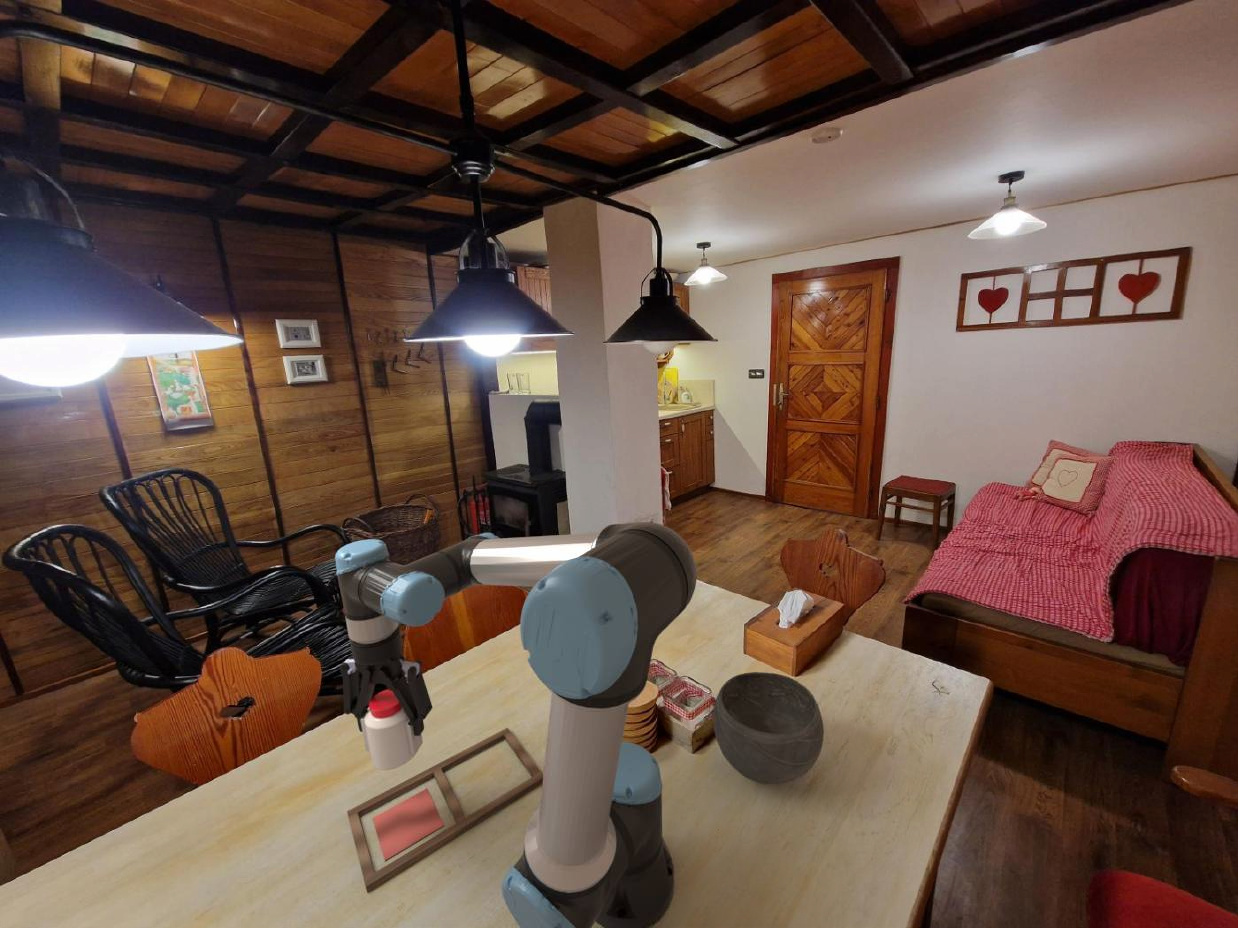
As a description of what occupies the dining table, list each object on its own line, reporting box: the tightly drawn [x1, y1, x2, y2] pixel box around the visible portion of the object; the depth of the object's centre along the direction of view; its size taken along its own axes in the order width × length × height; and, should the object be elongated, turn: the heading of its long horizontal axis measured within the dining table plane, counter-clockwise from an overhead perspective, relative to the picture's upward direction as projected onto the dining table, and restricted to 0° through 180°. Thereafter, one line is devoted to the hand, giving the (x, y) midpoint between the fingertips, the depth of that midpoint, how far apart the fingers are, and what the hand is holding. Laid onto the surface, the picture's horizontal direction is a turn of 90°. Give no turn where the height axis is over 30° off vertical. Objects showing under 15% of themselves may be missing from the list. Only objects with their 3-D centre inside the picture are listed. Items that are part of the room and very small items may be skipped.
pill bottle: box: [364, 688, 417, 771], centre depth 86 cm, size 8×8×11 cm
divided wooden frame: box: [347, 727, 544, 893], centre depth 95 cm, size 17×32×1 cm, turn 127°
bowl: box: [712, 671, 825, 786], centre depth 99 cm, size 21×21×15 cm
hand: (394, 746), depth 87 cm, fingers closed on pill bottle, 8 cm apart
